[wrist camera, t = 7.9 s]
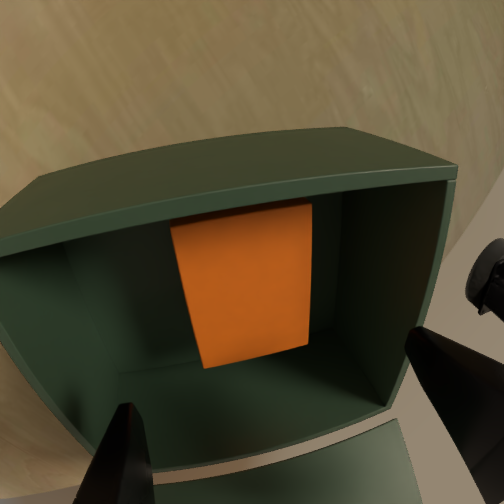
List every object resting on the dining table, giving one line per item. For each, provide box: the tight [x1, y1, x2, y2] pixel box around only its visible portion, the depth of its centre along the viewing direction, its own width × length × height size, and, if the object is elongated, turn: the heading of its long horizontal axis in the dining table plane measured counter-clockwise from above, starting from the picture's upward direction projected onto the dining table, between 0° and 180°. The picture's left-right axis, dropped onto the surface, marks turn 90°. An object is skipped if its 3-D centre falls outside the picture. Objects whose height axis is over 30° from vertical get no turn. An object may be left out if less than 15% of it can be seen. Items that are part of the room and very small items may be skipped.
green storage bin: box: [0, 127, 458, 473], centre depth 13 cm, size 15×13×8 cm
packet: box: [169, 197, 312, 369], centre depth 14 cm, size 5×7×4 cm
